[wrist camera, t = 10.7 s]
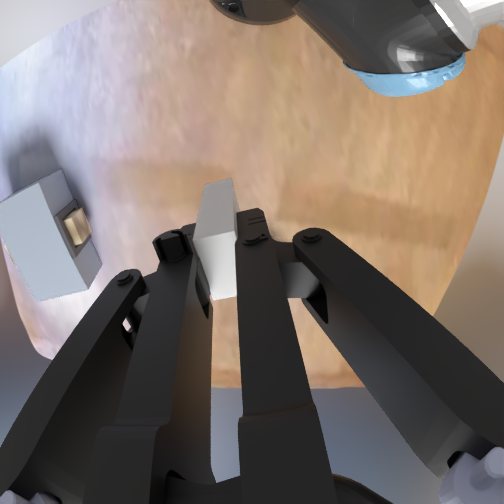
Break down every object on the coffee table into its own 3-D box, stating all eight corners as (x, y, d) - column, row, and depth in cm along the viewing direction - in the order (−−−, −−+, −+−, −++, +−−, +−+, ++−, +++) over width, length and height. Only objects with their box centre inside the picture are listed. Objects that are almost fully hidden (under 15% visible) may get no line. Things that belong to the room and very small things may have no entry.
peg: (16, 234, 43) (4, 245, 39) (82, 207, 43) (71, 217, 39) (26, 254, 45) (15, 266, 41) (92, 231, 45) (82, 243, 41)
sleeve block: (13, 193, 41) (-11, 209, 35) (64, 167, 41) (41, 181, 34) (53, 278, 50) (37, 302, 43) (105, 263, 50) (91, 288, 43)
